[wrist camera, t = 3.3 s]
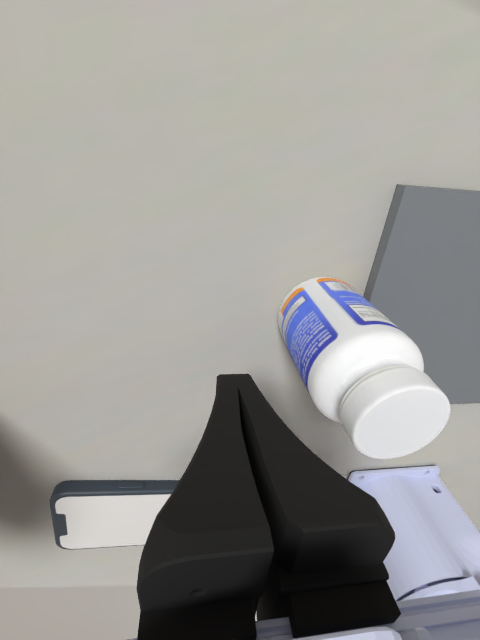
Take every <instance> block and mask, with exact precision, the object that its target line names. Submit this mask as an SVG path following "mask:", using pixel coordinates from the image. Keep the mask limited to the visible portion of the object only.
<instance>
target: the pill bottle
mask: <svg viewBox="0 0 480 640" xmlns="http://www.w3.org/2000/svg"><path fill="white" fill-rule="evenodd" d="M278 327H279V330H280V333H281V335H282V338H283V340H284V342H285V344H286V346H287V348H288V350H289V352H290V355H291V357H292V359H293V361H294V363H295V365H296V367H297V369H298V371H299V373H300V375H301V377H302V380H303V382H304V384H305V386H306V388H307V390H308V392H309V394H310V396H311V398H312V400H313V402H314V404H315V405H316V407H317V408H318V410H319V411H320V412H321V413H322V414H323V415H325V416H326V417H327V418H329V419H331V420H333V421H335V422H338V423H341V424H342V425H343V427H344V429H345V431H346V432H347V434H348V436H349V438H350V439H351V441H352V443H353V444H354V446H355V447H356V449H357V450H358V451H359V452H361V453H362V454H364V455H366V456H368V457H371V458H376V459H391V458H397V457H402V456H405V455H408V454H411V453H413V452H415V451H417V450H419V449H421V448H422V447H424V446H425V445H427V444H428V443H430V442H431V441H432V440H433V439H434V438H435V437H437V435H438V434H439V433H440V432H441V431H442V430H443V428H444V427H445V425H446V423H447V421H448V419H449V415H450V403H449V400H448V398H447V397H446V395H445V394H444V393H443V392H442V391H441V389H440V388H439V387H438V386H437V385H436V384H435V383H434V382H433V381H432V380H431V378H430V377H429V376H428V375H427V374H425V373H424V362H423V358H422V354H421V352H420V350H419V348H418V346H417V345H416V344H415V343H414V342H413V341H412V339H410V338H409V337H408V336H407V335H406V334H405V333H404V332H403V331H402V330H401V329H399V328H398V327H397V326H396V325H395V324H394V323H392V322H391V321H390V320H389V319H388V318H387V317H386V316H384V315H383V314H382V313H381V312H380V311H379V310H378V309H376V308H375V307H374V306H373V305H372V304H371V303H370V302H368V301H367V300H366V299H365V298H364V297H363V296H362V295H361V294H359V293H358V292H357V291H356V290H355V289H353V288H352V287H351V286H350V285H349V284H347V283H345V282H344V281H342V280H339V279H336V278H333V277H317V278H313V279H309V280H307V281H304V282H302V283H301V284H299V285H297V286H296V287H294V288H293V289H292V290H291V291H290V292H289V293H288V294H287V296H286V297H285V299H284V300H283V302H282V304H281V306H280V309H279V313H278Z"/></svg>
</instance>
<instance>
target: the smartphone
mask: <svg viewBox="0 0 480 640" xmlns="http://www.w3.org/2000/svg"><path fill="white" fill-rule="evenodd" d="M179 481H180V480H71V481H64V482H61V483H59V484H58V485H57V486H56V487H55V488H54V491H53V493H52V496H51V499H50V507H51V513H52V520H53V527H54V534H55V540H56V544H57V545H58V546H59V547H60V548H63V549H69V550H70V549H88V548H104V547H121V546H137V545H145V543H146V540H147V538H148V535H149V533H150V530H151V528H152V525H153V523H154V521H155V518H156V516H157V514H158V513H159V511H160V510H161V508H162V507H163V506H164V504H165V503H166V501H167V500H168V498H169V497H170V495H171V494H172V492H173V491H174V489H175V488H176V486H177V484H178V483H179Z"/></svg>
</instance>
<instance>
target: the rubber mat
mask: <svg viewBox="0 0 480 640" xmlns="http://www.w3.org/2000/svg"><path fill="white" fill-rule="evenodd" d="M363 297H364V298H365V299H366V300H367V301H368V302H370V303H371V304H372V305H373V306H374V307H375V308H376V309H378V310H379V311H380V312H381V313H382V314H383V315H384V316H386V317H387V318H388V319H389V320H390V321H391V322H392V323H394V324H395V325H396V326H397V327H398V328H399V329H401V330H402V331H403V332H404V333H405V334H406V335H407V336H408V337H409V338H410V339H412V341H413V342H414V343H415V344H416V345H417V346H418V348H419V350H420V352H421V354H422V358H423V362H424V373H425V374H427V375H428V376H429V377H430V378H431V380H432V381H433V382H434V383H435V384H436V385H437V386H438V387H439V388H440V389H441V391H442V392H443V393H444V394H445V395H446V397H447V398H448V400H449V403H450V404H465V403H480V191H472V190H459V189H447V188H435V187H423V186H410V185H398V184H397V187H396V190H395V194H394V197H393V200H392V204H391V207H390V210H389V213H388V217H387V220H386V223H385V227H384V230H383V233H382V237H381V240H380V243H379V247H378V250H377V253H376V257H375V260H374V263H373V267H372V270H371V273H370V276H369V280H368V283H367V286H366V290H365V293H364V296H363Z"/></svg>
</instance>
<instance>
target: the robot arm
mask: <svg viewBox="0 0 480 640" xmlns="http://www.w3.org/2000/svg"><path fill="white" fill-rule="evenodd" d="M439 472H440V468H439V467H438V466H422V467H408V468H394V469H380V470H366V471H354V472H352V473H351V474H350V476H349V479H348V480H347V479H345V478H344V477H343V476H341V475H340V474H339V473H337V472H336V471H335V470H333V469H332V468H331V467H329V466H328V465H327V464H326V463H325V462H323V461H322V460H321V459H320V458H319V457H318V456H316V455H315V454H314V453H313V452H312V451H311V450H310V449H309V448H307V447H306V446H305V445H304V444H303V443H302V442H301V441H300V440H299V439H298V438H297V437H296V436H295V435H294V434H293V432H292V431H291V430H290V429H289V428H288V427H287V426H286V425H285V423H284V422H283V421H282V420H281V419H280V418H279V416H278V415H277V414H276V413H275V411H274V410H273V409H272V407H271V406H270V405H269V403H268V402H267V401H266V399H265V398H264V396H263V395H262V393H261V392H260V390H259V389H258V387H257V386H256V384H255V382H254V381H253V379H252V377H251V376H250V375H249V374H222V375H219V376H217V384H216V397H215V401H214V405H213V408H212V412H211V415H210V418H209V421H208V424H207V427H206V429H205V432H204V434H203V437H202V439H201V441H200V443H199V446H198V448H197V450H196V452H195V454H194V456H193V458H192V460H191V462H190V464H189V466H188V467H187V469H186V471H185V473H184V474H183V476H182V478H181V479H180V481H179V483H178V484H177V486H176V488H175V489H174V491H173V492H172V494H171V495H170V497H169V498H168V500H167V501H166V503H165V504H164V506H163V507H162V508H161V510H160V511H159V513H158V514H157V516H156V518H155V521H154V523H153V525H152V528H151V530H150V533H149V535H148V538H147V540H146V543H145V546H144V549H143V552H142V556H141V560H140V564H139V572H138V581H137V593H138V599H139V604H140V610H141V613H140V621H139V629H138V638H135V639H128V640H480V532H479V531H478V529H477V528H476V527H475V525H474V524H473V523H472V521H471V520H470V519H469V517H468V516H467V514H466V513H465V512H464V510H463V509H462V508H461V506H460V505H459V504H458V502H457V501H456V500H455V498H454V497H453V495H452V494H451V493H450V491H449V490H448V489H447V487H446V486H445V485H444V483H443V482H442V481H441V479H440V478H439V476H438V474H439ZM256 610H257V621H255V614H256Z"/></svg>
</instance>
